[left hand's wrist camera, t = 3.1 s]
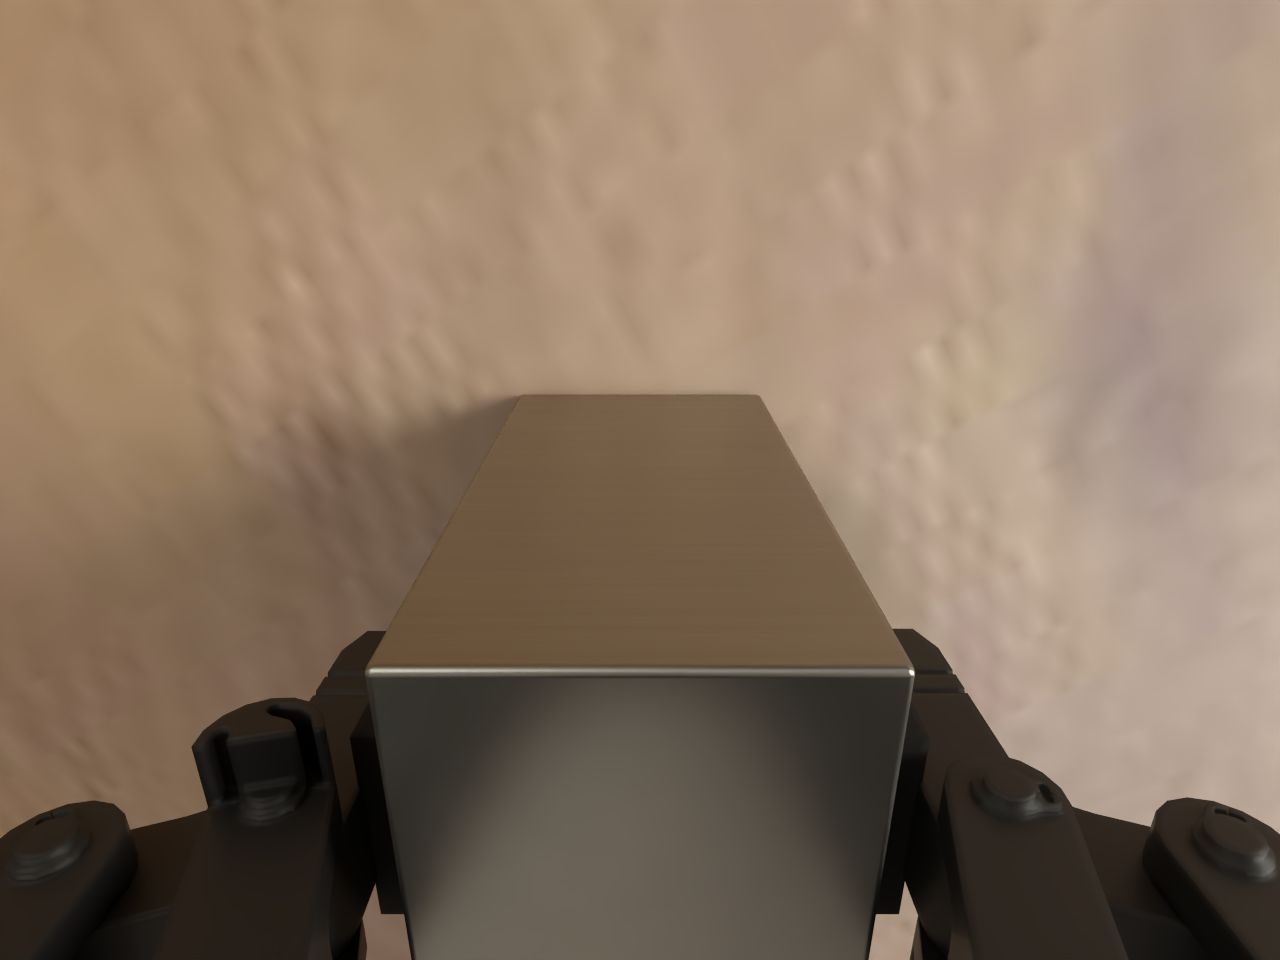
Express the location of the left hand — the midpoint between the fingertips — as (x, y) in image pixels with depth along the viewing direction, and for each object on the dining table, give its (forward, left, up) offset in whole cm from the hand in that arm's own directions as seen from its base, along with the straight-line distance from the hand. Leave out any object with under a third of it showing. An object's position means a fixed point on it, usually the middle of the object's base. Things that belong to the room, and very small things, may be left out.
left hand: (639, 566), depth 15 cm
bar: (+9, 0, -1) cm, 9 cm away
